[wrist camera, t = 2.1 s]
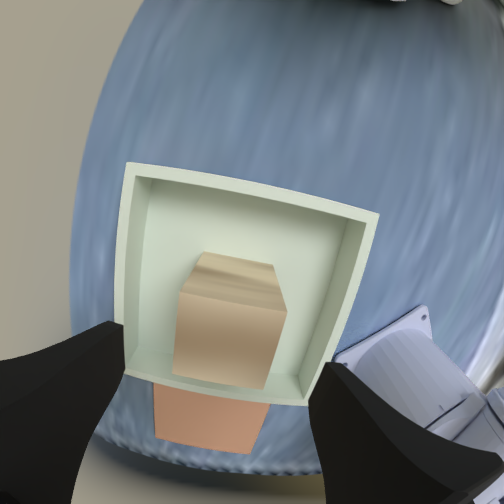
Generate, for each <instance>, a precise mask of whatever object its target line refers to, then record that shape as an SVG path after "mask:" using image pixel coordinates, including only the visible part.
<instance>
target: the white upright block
mask: <svg viewBox="0 0 504 504" xmlns="http://www.w3.org/2000/svg"><path fill="white" fill-rule="evenodd" d="M441 1H443V2H445V3H447V4H451V5H456V4H458V3H460V2H461V1H463V0H441Z"/></svg>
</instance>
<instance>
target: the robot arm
mask: <svg viewBox="0 0 504 504" xmlns="http://www.w3.org/2000/svg"><path fill="white" fill-rule="evenodd" d="M423 315H424V316H423ZM422 316H423V317H422ZM343 363H345V364H344V365H343ZM124 371H125V353H124V325H122V324H118V323H115V322H112V321H106V322H104V323H101V324H99V325H97V326H95V327H93V328H91V329H88V330H86V331H84V332H82V333H80V334H78V335H76V336H73V337H71V338H69V339H67V340H65V341H62V342H60V343H57V344H55V345H52V346H50V347H47V348H45V349H42V350H40V351H37V352H34V353H31V354H28V355H25V356H20V357H17V358H13V359H7V360H2V361H0V504H71V499H72V495H73V490H74V486H75V482H76V478H77V475H78V471H79V468H80V465H81V462H82V459H83V456H84V453H85V450H86V448H87V445H88V442H89V440H90V438H91V436H92V434H93V432H94V430H95V428H96V426H97V425H98V423H99V421H100V419H101V417H102V416H103V414H104V412H105V410H106V409H107V407H108V405H109V403H110V401H111V400H112V398H113V396H114V394H115V393H116V391H117V389H118V386H119V384H120V381H121V379H122V376H123V374H124ZM308 408H309V418H310V425H311V429H312V433H313V437H314V441H315V445H316V449H317V452H318V456H319V460H320V464H321V468H322V472H323V477H324V485H325V494H326V504H504V387H502V388H499V389H497V388H494V389H492V391H491V392H490V393H489V394H488V396H486V395H484V394H483V393H482V392H481V391H480V390H479V389H478V387H477V386H476V385H475V384H474V383H473V382H472V381H471V380H470V379H469V378H468V377H467V376H466V375H465V374H464V373H463V371H462V370H461V369H460V368H459V367H458V366H457V365H456V364H455V363H454V362H453V361H452V360H451V359H450V358H449V357H448V356H447V355H446V354H445V353H444V352H443V351H442V350H441V349H440V348H439V347H438V346H437V345H436V344H435V343H434V342H433V339H432V332H431V325H430V319H429V313H428V308H427V307H426V306H425V305H420V306H418V307H417V308H416V309H414V310H413V311H411V312H410V313H408V314H406V315H405V316H403V317H402V318H400V319H399V320H397V321H396V322H394V323H392V324H391V325H389V326H387V327H386V328H384V329H382V330H381V331H379V332H377V333H376V334H374V335H372V336H371V337H369V338H367V339H365V340H364V341H362V342H360V343H358V344H356V345H354V346H353V347H351V348H349V349H347V350H345V351H343V352H341V353H339V354H338V355H337V356H336V357H335V362H325V364H324V367H323V369H322V371H321V373H320V376H319V378H318V380H317V382H316V384H315V387H314V389H313V391H312V393H311V395H310V397H309V399H308Z"/></svg>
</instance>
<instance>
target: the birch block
mask: <svg viewBox="0 0 504 504" xmlns="http://www.w3.org/2000/svg"><path fill="white" fill-rule="evenodd" d="M287 313H288V312H287V308H286V305H285V302H284V299H283V295H282V292H281V289H280V286H279V283H278V279H277V276H276V273H275V270H274V267H273V265H272V264H267V263H262V262H257V261H251V260H246V259H241V258H236V257H231V256H226V255H221V254H216V253H211V252H206V251H204V252H203V254H202V255H201V257H200V259H199V260H198V262H197V263H196V265H195V267H194V268H193V270H192V272H191V273H190V275H189V277H188V278H187V280H186V282H185V283H184V285H183V287H182V288H181V290H180V292H179V301H178V310H177V320H176V330H175V342H174V354H173V369H172V374H176V375H180V376H184V377H189V378H193V379H198V380H203V381H208V382H214V383H219V384H225V385H231V386H238V387H245V388H252V389H260V390H263V389H264V386H265V383H266V380H267V377H268V374H269V371H270V368H271V365H272V362H273V359H274V355H275V352H276V349H277V346H278V343H279V339H280V336H281V333H282V330H283V326H284V323H285V319H286V316H287Z"/></svg>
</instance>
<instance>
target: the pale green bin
mask: <svg viewBox="0 0 504 504" xmlns="http://www.w3.org/2000/svg"><path fill="white" fill-rule="evenodd" d="M378 218H379V214H377V213H374V212H371V211H367V210H364V209H361V208H357V207H354V206H350V205H346V204H343V203H339V202H335V201H332V200H328V199H324V198H320V197H316V196H312V195H308V194H304V193H300V192H296V191H292V190H287V189H283V188H279V187H274V186H270V185H265V184H260V183H256V182H251V181H246V180H241V179H236V178H231V177H225V176H220V175H214V174H209V173H203V172H197V171H191V170H184V169H178V168H171V167H164V166H157V165H149V164H141V163H133V162H127V164H126V170H125V175H124V182H123V188H122V195H121V202H120V210H119V219H118V229H117V241H116V256H115V279H114V321H115V323H118V324H122V325H124V353H125V371H124V374H127V375H130V376H133V377H137V378H140V379H143V380H147V381H150V382H154V383H158V384H162V385H166V386H170V387H174V388H178V389H182V390H187V391H191V392H196V393H201V394H206V395H212V396H217V397H223V398H230V399H236V400H244V401H251V402H260V403H270V404H281V405H295V406H308V399H309V397H310V395H311V393H312V391H313V389H314V387H315V384H316V382H317V380H318V378H319V376H320V373H321V371H322V369H323V367H324V364H325V362H330V361H331V359H332V356H333V354H334V352H335V349H336V347H337V344H338V342H339V339H340V337H341V334H342V332H343V329H344V327H345V324H346V321H347V319H348V316H349V313H350V311H351V308H352V305H353V302H354V299H355V296H356V294H357V291H358V288H359V285H360V282H361V278H362V275H363V272H364V269H365V266H366V262H367V259H368V256H369V252H370V249H371V245H372V241H373V238H374V234H375V230H376V226H377V222H378ZM204 251H206V252H211V253H216V254H221V255H226V256H231V257H236V258H241V259H246V260H251V261H257V262H262V263H267V264H272V265H273V267H274V270H275V273H276V276H277V279H278V283H279V286H280V289H281V292H282V295H283V299H284V302H285V305H286V308H287V312H288V313H287V316H286V319H285V323H284V326H283V330H282V333H281V336H280V339H279V343H278V346H277V349H276V352H275V355H274V359H273V362H272V365H271V368H270V371H269V374H268V377H267V380H266V383H265V386H264V389H263V390H260V389H252V388H245V387H238V386H231V385H225V384H219V383H214V382H208V381H203V380H198V379H193V378H189V377H184V376H180V375H176V374H172V369H173V354H174V342H175V330H176V320H177V310H178V301H179V292H180V290H181V288H182V287H183V285H184V283H185V282H186V280H187V278H188V277H189V275H190V273H191V272H192V270H193V268H194V267H195V265H196V263H197V262H198V260H199V259H200V257H201V255H202V254H203V252H204Z"/></svg>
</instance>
